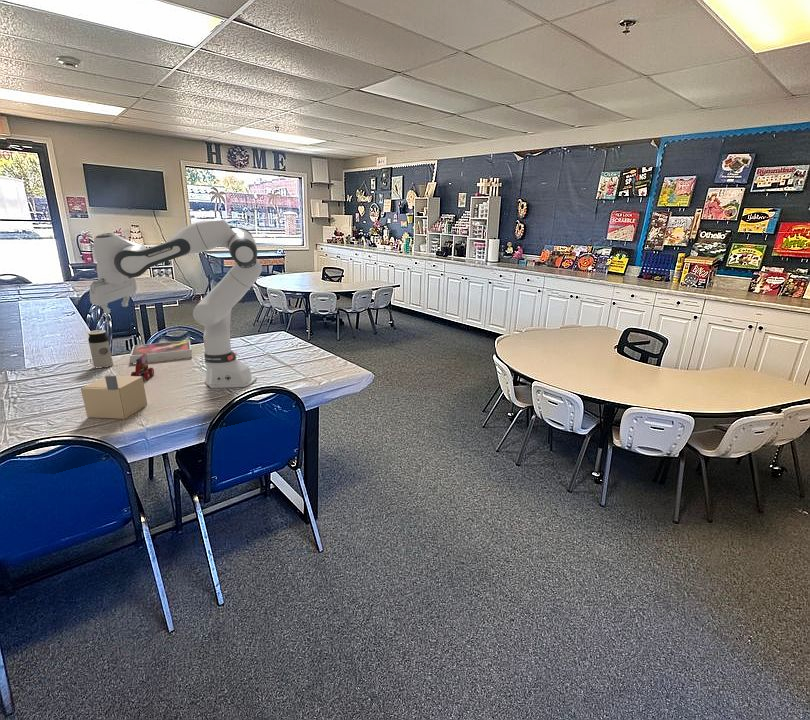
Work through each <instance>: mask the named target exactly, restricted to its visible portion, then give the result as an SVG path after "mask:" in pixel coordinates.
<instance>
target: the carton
mask: <svg viewBox="0 0 810 720" xmlns="http://www.w3.org/2000/svg"><path fill="white" fill-rule="evenodd" d="M107 376H116V379H117V384H118V389H119V393H120V398H121V403H122V408H123V413H124V419H127V418H129V417H130V416H132V415H133V414H135V413H136V412H139V411H140V410H141V409H143V408H144V407H146V406H147V405H148V401H147V394H146V389H145V383H144V377H141V376H131V375H110V374H109V375H107ZM82 388H106V389H107V384H106V379H105V376H104V377H102V378H99V379H97V380H96V381H93V382H91V383H88V384H87V385H85V386H83V387H82Z"/></svg>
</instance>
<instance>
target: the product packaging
mask: <svg viewBox="0 0 810 720" xmlns="http://www.w3.org/2000/svg"><path fill="white" fill-rule="evenodd" d="M143 354H146V355H147V362H148V363H155V361H157V362H166V361H173V359H176V360H182V359H181V358H185V359H191V358H190V357H192V358H193V353H192V346H191V340H190V339H189V340H188V339H187V340H180V341H179V340H178V341H168V342H155V343H144V344H136V345H133V346H132V349H131V352H130V355H129V358H130V361H131V362H130V363H137V362H136V360H137V359H138V358H139V357H140V356H142V355H143ZM165 360H166V361H165Z"/></svg>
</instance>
